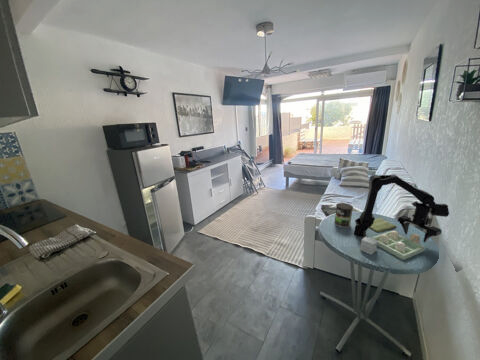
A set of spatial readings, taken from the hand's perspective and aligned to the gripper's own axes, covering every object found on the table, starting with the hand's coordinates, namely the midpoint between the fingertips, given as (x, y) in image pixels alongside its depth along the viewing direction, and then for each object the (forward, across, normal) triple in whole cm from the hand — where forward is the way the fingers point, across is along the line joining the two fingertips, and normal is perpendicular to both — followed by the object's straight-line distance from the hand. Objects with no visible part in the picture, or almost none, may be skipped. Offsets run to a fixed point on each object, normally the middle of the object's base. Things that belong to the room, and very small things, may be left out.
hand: (414, 238), depth 116 cm
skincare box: (+4, +6, +30) cm, 31 cm away
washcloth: (+4, +21, -1) cm, 21 cm away
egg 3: (+3, -2, +17) cm, 18 cm away
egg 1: (+3, +6, +17) cm, 19 cm away
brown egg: (+4, 0, 0) cm, 4 cm away
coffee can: (+4, +34, +18) cm, 39 cm away
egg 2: (+3, +6, +9) cm, 11 cm away
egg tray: (+4, +2, +13) cm, 14 cm away
